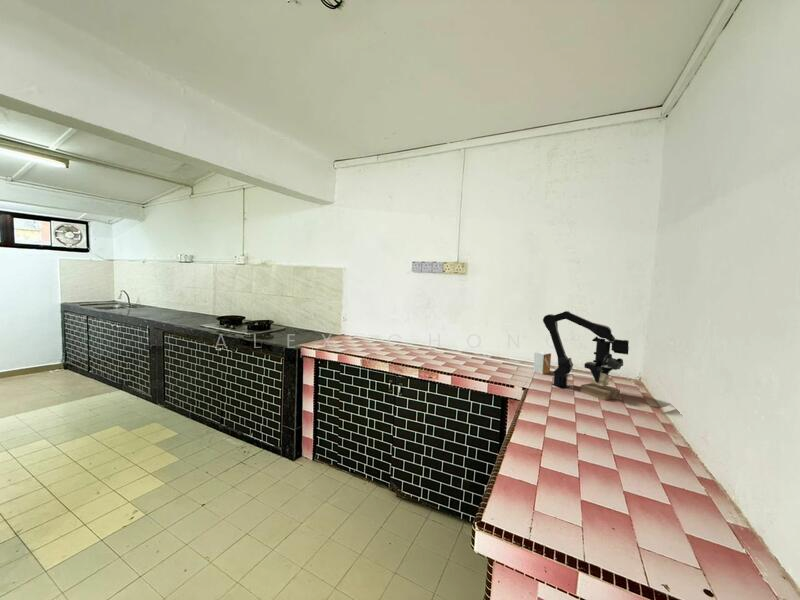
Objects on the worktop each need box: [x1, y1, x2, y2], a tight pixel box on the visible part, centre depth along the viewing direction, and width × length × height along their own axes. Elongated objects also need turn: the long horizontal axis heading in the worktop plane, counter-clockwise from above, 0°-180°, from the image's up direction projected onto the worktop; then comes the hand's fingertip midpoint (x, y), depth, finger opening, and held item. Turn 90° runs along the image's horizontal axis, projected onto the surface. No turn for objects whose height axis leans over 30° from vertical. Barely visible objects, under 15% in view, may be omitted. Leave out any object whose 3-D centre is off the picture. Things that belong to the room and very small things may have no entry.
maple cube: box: [591, 373, 610, 386], centre depth 153 cm, size 5×5×5 cm
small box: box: [532, 350, 552, 375], centre depth 186 cm, size 8×6×13 cm
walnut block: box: [579, 382, 621, 401], centre depth 153 cm, size 12×12×4 cm
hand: (600, 381), depth 153 cm, fingers closed on maple cube, 5 cm apart
